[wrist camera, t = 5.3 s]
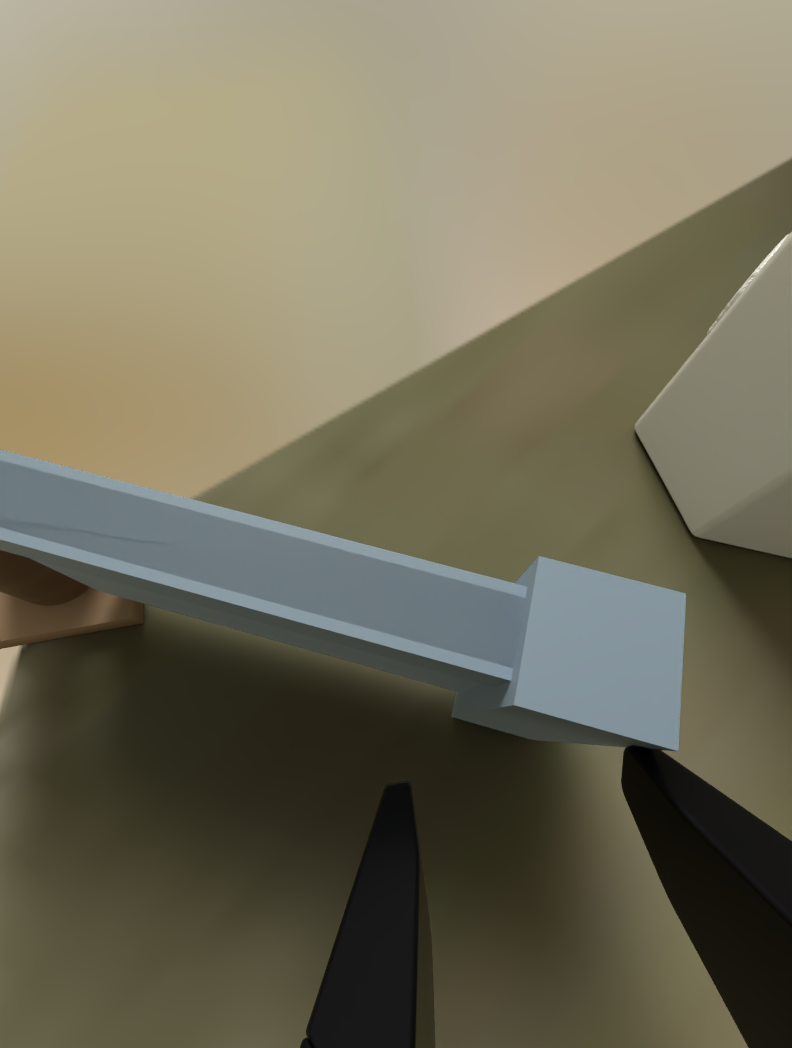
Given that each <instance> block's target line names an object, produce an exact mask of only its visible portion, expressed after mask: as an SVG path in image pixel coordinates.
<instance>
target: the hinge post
mask: <svg viewBox="0 0 792 1048" xmlns="http://www.w3.org/2000/svg"><path fill="white" fill-rule="evenodd" d="M142 623H144V603H140V602H136V601H133V600H129V599H126V598H122V597H119V596H115V595H112V594H108V593H104V592H101V591H97V590H95V589H93V588H91V587H89V586H87V585H85V584H83V583H81V582H78V581H76V580H74V579H72V578H70V577H68V576H66V575H64V574H62V573H60V572H58V571H55V570H53V569H51V568H49V567H47V566H45V565H43V564H41V563H39V562H37V561H35V560H32V559H30V558H27V557H24V556H20V555H17V554H13V553H10V552H6V551H2V550H0V649H2V648H7V647H13V646H18V645H24V644H30V643H35V642H41V641H47V640H52V639H58V638H63V637H69V636H75V635H80V634H86V633H92V632H97V631H103V630H108V629H114V628H120V627H125V626H131V625H137V624H142Z"/></svg>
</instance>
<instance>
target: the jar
mask: <svg viewBox="0 0 792 1048" xmlns="http://www.w3.org/2000/svg"><path fill="white" fill-rule="evenodd" d="M635 431H636V433H637V435H638V437H639V438H640V440H641V442H642V444H643V446H644V448H645V449H646V451H647V453H648V455H649V457H650V458H651V460H652V462H653V464H654V466H655V468H656V469H657V471H658V473H659V475H660V477H661V479H662V480H663V482H664V484H665V486H666V488H667V490H668V491H669V493H670V495H671V497H672V499H673V501H674V502H675V504H676V506H677V508H678V510H679V512H680V513H681V515H682V517H683V519H684V521H685V523H686V525H687V526H688V528H689V530H690V532H691V533H692V534H693V535H694V536H696V537H698V538H703V539H707V540H712V541H716V542H721V543H725V544H730V545H734V546H739V547H743V548H747V549H752V550H756V551H761V552H765V553H770V554H774V555H779V556H783V557H788V558H792V232H791V233H789V234H788V235H787V236H785V237H784V238H783V239H782V241H781V242H780V243H779V244H778V245H777V246H776V247H775V248H774V249H773V250H772V252H771V253H770V254H769V255H768V256H767V257H766V258H765V259H764V261H763V262H762V263H761V264H760V265H759V266H758V268H757V269H756V270H755V271H754V272H753V273H752V275H751V276H750V277H749V278H748V279H747V281H746V282H745V283H744V284H743V285H742V287H741V288H740V289H739V290H738V292H737V293H736V294H735V295H734V297H733V298H732V299H731V300H730V302H729V303H728V304H727V306H726V307H725V308H724V310H723V311H722V312H721V313H720V315H719V316H718V317H717V319H716V321H715V322H714V323H713V325H712V326H711V327H710V328H709V331H708V335H707V336H706V337H705V339H704V340H703V341H702V342H701V344H700V345H699V346H698V347H697V349H696V350H695V351H694V352H693V353H692V355H691V356H690V357H689V358H688V360H687V361H686V362H685V363H684V364H683V366H682V367H681V368H680V369H679V371H678V372H677V373H676V374H675V375H674V377H673V378H672V379H671V380H670V382H669V383H668V384H667V385H666V387H665V388H664V389H663V390H662V391H661V393H660V394H659V395H658V396H657V398H656V399H655V400H654V401H653V402H652V404H651V405H650V406H649V407H648V409H647V410H646V411H645V412H644V413H643V415H642V416H641V417H640V418H639V420H638V421H637V422H636V424H635Z"/></svg>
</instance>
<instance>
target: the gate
mask: <svg viewBox="0 0 792 1048" xmlns="http://www.w3.org/2000/svg"><path fill="white" fill-rule="evenodd" d="M0 550H2V551H6V552H10V553H13V554H17V555H20V556H24V557H27V558H30V559H32V560H35V561H37V562H39V563H41V564H43V565H45V566H47V567H49V568H51V569H53V570H55V571H58V572H60V573H62V574H64V575H66V576H68V577H70V578H72V579H74V580H76V581H78V582H81V583H83V584H85V585H87V586H89V587H91V588H93V589H95V590H97V591H101V592H104V593H108V594H112V595H115V596H119V597H122V598H126V599H129V600H133V601H136V602H140V603H144V604H147V605H151V606H154V607H158V608H161V609H165V610H169V611H172V612H176V613H179V614H183V615H186V616H190V617H193V618H197V619H201V620H204V621H208V622H211V623H215V624H218V625H222V626H225V627H229V628H233V629H236V630H240V631H243V632H247V633H250V634H254V635H257V636H261V637H265V638H268V639H272V640H275V641H279V642H282V643H286V644H289V645H293V646H297V647H300V648H304V649H307V650H311V651H314V652H318V653H321V654H325V655H329V656H332V657H336V658H339V659H343V660H346V661H350V662H354V663H357V664H361V665H364V666H368V667H371V668H375V669H378V670H382V671H386V672H389V673H393V674H396V675H400V676H403V677H407V678H410V679H414V680H418V681H421V682H425V683H428V684H432V685H435V686H439V687H442V688H446V689H450V690H453V691H456V696H455V700H454V705H453V710H452V715H451V717H454V718H457V719H461V720H464V721H468V722H471V723H475V724H478V725H482V726H485V727H489V728H492V729H496V730H499V731H503V732H506V733H510V734H513V735H517V736H520V737H524V738H527V739H531V740H539V741H552V742H565V743H578V744H591V745H604V746H618V747H627V746H631V745H635V746H640V747H644V748H649V749H657V750H670V751H678V746H679V726H680V706H681V686H682V666H683V646H684V626H685V606H686V593H682V592H678V591H674V590H670V589H666V588H662V587H658V586H654V585H650V584H646V583H642V582H639V581H635V580H631V579H627V578H623V577H619V576H615V575H611V574H607V573H603V572H599V571H595V570H591V569H588V568H584V567H580V566H576V565H572V564H568V563H564V562H560V561H556V560H552V559H548V558H544V557H540V556H539V557H538V558H537V559H536V560H535V561H534V562H533V564H532V565H531V566H530V567H529V568H528V569H527V570H526V571H525V573H524V574H523V575H522V576H521V577H520V578H519V579H518V580H517V582H516V583H511V582H507V581H503V580H499V579H496V578H492V577H488V576H484V575H480V574H476V573H473V572H469V571H465V570H461V569H457V568H453V567H449V566H446V565H442V564H438V563H434V562H430V561H426V560H423V559H419V558H415V557H411V556H407V555H403V554H400V553H396V552H392V551H388V550H384V549H380V548H377V547H373V546H369V545H365V544H361V543H357V542H354V541H350V540H346V539H342V538H338V537H334V536H330V535H327V534H323V533H319V532H315V531H311V530H307V529H304V528H300V527H296V526H292V525H288V524H284V523H281V522H277V521H273V520H269V519H265V518H261V517H258V516H254V515H250V514H246V513H242V512H238V511H235V510H231V509H227V508H223V507H219V506H215V505H212V504H208V503H204V502H200V501H196V500H192V499H188V498H184V497H181V496H177V495H173V494H169V493H165V492H162V491H157V490H154V489H150V488H146V487H142V486H138V485H135V484H131V483H127V482H123V481H119V480H115V479H112V478H108V477H104V476H100V475H96V474H92V473H89V472H84V471H81V470H77V469H73V468H69V467H65V466H62V465H58V464H54V463H50V462H46V461H43V460H39V459H35V458H31V457H27V456H23V455H20V454H16V453H11V452H8V451H4V450H0Z"/></svg>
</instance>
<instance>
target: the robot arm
mask: <svg viewBox="0 0 792 1048" xmlns="http://www.w3.org/2000/svg"><path fill="white" fill-rule="evenodd" d="M621 783H622V789H623V793H624V796H625V798H626V801H627V803H628V805H629V808H630V810H631V812H632V815H633V817H634V820H635V822H636V824H637V827H638V829H639V831H640V834H641V836H642V838H643V841H644V843H645V845H646V848H647V850H648V852H649V855H650V857H651V859H652V862H653V864H654V866H655V869H656V871H657V873H658V876H659V878H660V880H661V883H662V885H663V887H664V889H665V892H666V894H667V896H668V898H669V900H670V902H671V904H672V906H673V908H674V910H675V912H676V914H677V915H678V917H679V919H680V921H681V923H682V925H683V927H684V928H685V930H686V932H687V934H688V936H689V938H690V940H691V941H692V943H693V945H694V947H695V949H696V951H697V953H698V954H699V956H700V958H701V960H702V962H703V964H704V966H705V967H706V969H707V971H708V973H709V975H710V977H711V979H712V981H713V982H714V984H715V986H716V988H717V990H718V992H719V994H720V995H721V997H722V999H723V1001H724V1003H725V1005H726V1007H727V1008H728V1010H729V1012H730V1014H731V1016H732V1018H733V1020H734V1021H735V1023H736V1025H737V1027H738V1029H739V1031H740V1033H741V1034H742V1036H743V1038H744V1040H745V1042H746V1044H747V1046H748V1047H749V1048H792V841H791V840H789V839H788V838H786V837H785V836H783V835H782V834H781V833H779V832H778V831H776V830H775V829H773V828H772V827H770V826H769V825H768V824H766V823H765V822H763V821H762V820H760V819H759V818H758V817H756V816H755V815H753V814H752V813H750V812H749V811H747V810H746V809H745V808H743V807H742V806H740V805H739V804H737V803H736V802H735V801H733V800H732V799H730V798H729V797H727V796H726V795H724V794H723V793H722V792H720V791H719V790H717V789H716V788H714V787H713V786H712V785H710V784H709V783H707V782H706V781H704V780H703V779H701V778H700V777H699V776H697V775H696V774H694V773H693V772H691V771H690V770H689V769H687V768H686V767H684V766H683V765H681V764H680V763H678V762H677V761H676V760H674V759H673V758H671V757H670V756H668V755H667V754H666V753H664V752H663V751H661V750H657V749H649V748H644V747H640V746H635V745H631V746H627V747H626V748H625V750H624V754H623V766H622V778H621ZM306 1035H307V1038H304V1039H303V1041H302V1043H301V1047H300V1048H435V1021H434V992H433V962H432V942H431V930H430V921H429V912H428V905H427V898H426V890H425V883H424V875H423V868H422V861H421V853H420V846H419V838H418V831H417V824H416V816H415V809H414V802H413V795H412V788H411V784H410V782H408V781H402V782H395V783H389V784H387V785H386V787H385V788H384V791H383V794H382V797H381V800H380V803H379V806H378V809H377V813H376V816H375V819H374V822H373V825H372V828H371V831H370V834H369V837H368V840H367V843H366V847H365V850H364V853H363V856H362V859H361V862H360V865H359V868H358V871H357V874H356V877H355V881H354V884H353V887H352V890H351V893H350V896H349V899H348V902H347V905H346V908H345V911H344V915H343V918H342V921H341V924H340V927H339V930H338V933H337V936H336V939H335V942H334V945H333V949H332V952H331V955H330V958H329V961H328V964H327V967H326V970H325V973H324V976H323V979H322V983H321V986H320V989H319V992H318V995H317V998H316V1001H315V1004H314V1007H313V1010H312V1013H311V1017H310V1020H309V1023H308V1026H307V1029H306Z"/></svg>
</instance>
